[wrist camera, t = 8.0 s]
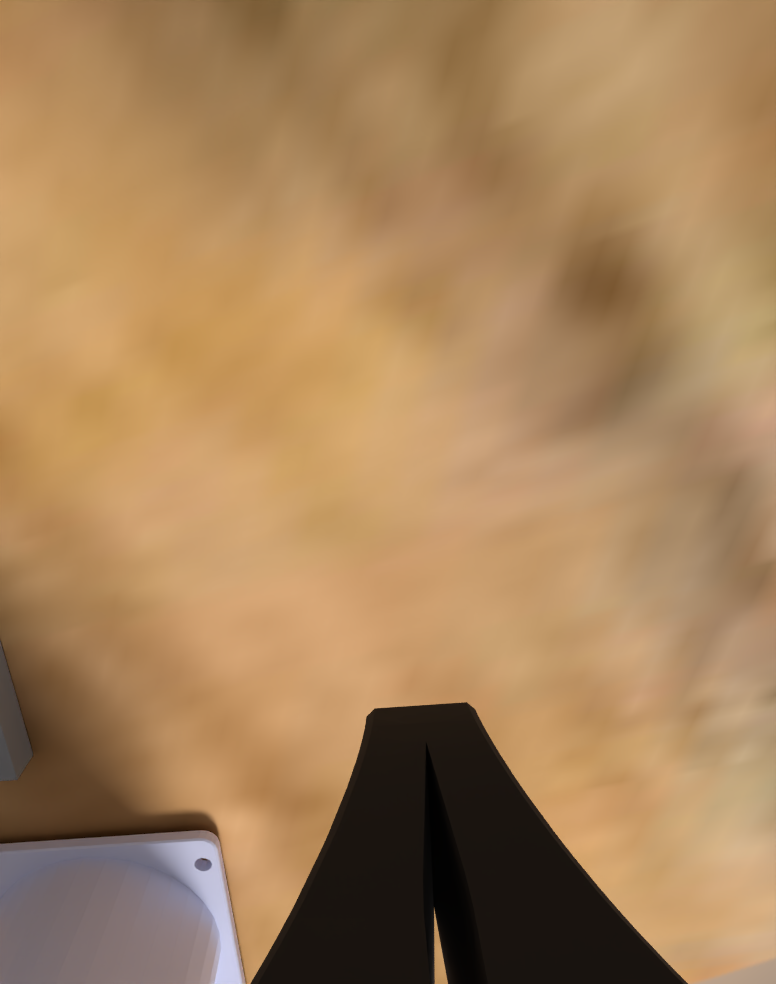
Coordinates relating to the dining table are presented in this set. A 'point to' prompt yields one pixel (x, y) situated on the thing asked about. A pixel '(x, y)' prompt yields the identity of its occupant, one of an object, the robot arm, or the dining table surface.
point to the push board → (11, 729)
